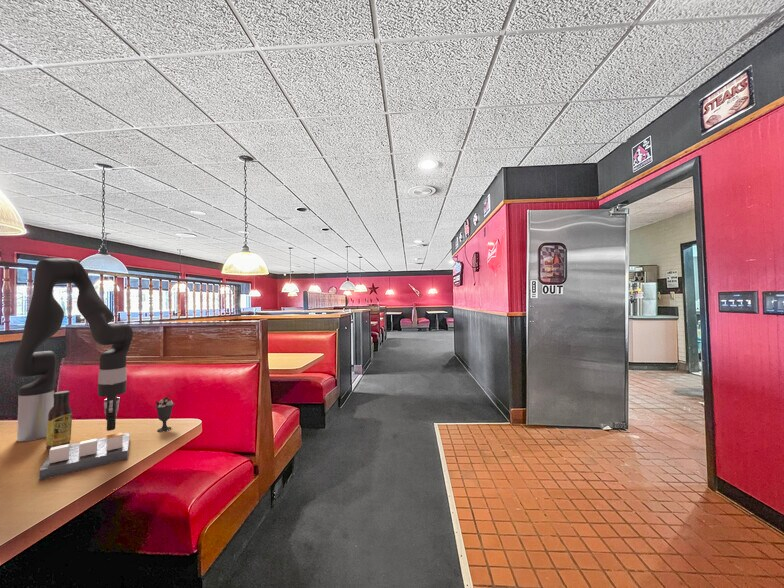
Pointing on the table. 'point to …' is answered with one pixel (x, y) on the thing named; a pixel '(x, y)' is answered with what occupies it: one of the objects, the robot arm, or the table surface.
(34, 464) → the table surface
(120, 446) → the block
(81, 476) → the table surface
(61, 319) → the robot arm
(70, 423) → the sauce bottle
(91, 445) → the handle
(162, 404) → the sundae
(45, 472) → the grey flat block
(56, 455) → the right breaker handle
